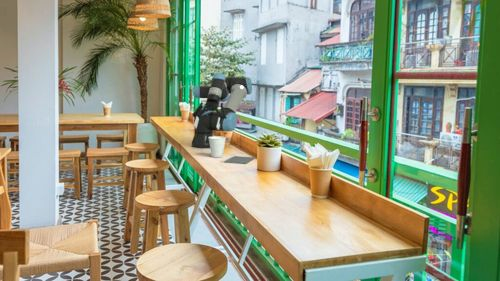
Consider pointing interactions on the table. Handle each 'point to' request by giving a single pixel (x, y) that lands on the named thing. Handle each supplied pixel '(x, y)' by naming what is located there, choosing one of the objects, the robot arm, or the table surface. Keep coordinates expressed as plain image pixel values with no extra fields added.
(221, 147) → the cup
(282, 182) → the table surface
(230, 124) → the robot arm
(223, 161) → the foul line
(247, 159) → the mat
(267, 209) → the table surface
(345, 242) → the table surface
